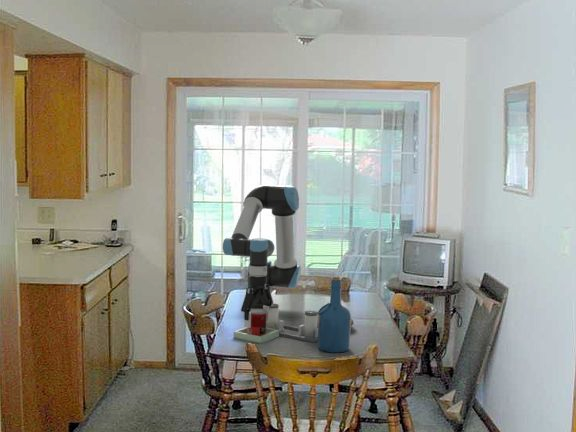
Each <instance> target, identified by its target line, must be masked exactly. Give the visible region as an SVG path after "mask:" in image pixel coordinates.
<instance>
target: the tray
mask: <svg viewBox="0 0 576 432" xmlns="http://www.w3.org/2000/svg"><path fill="white" fill-rule="evenodd" d="M247 330H248V328H247V327H242V328H240V329H238V330H234V331H233V334H232V335H233V339H235V340H241V341H244V342H250V343H254V344H259V345H262V344H264V343H267V342H269V341H271V340H274V339H277V338H278V337H280V336H279V330H275V329H270V328H266V334H265V335H263V336H256V335H251V334H247Z"/></svg>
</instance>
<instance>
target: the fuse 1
mask: <svg viewBox="0 0 576 432" xmlns="http://www.w3.org/2000/svg"><path fill="white" fill-rule="evenodd" d="M279 307H280V305H279V304H278V303H273V304H272V306H269V321H266V328H270V329H275V330H277V322H278V321H279Z"/></svg>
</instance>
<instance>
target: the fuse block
mask: <svg viewBox="0 0 576 432" xmlns="http://www.w3.org/2000/svg"><path fill="white" fill-rule="evenodd" d="M284 329H287V330H290V331H291V330H293V331H296V332H298V334H291V333H287V332H284ZM277 330H279V337H280V336H281V337H285V338H289V339H295V340H298V341H303V342H307V343H308V342H309V343H318V328H317V329H315V338H314V339H313V338H308V337H304V324H300V325H298V326H293V325H288V324H285V323H284V320H282V319H281V320H278V322H277Z"/></svg>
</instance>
